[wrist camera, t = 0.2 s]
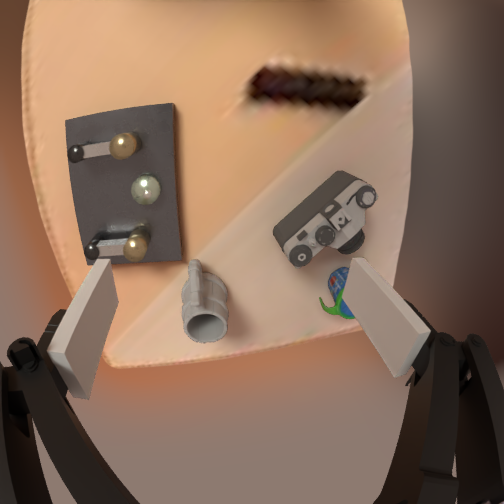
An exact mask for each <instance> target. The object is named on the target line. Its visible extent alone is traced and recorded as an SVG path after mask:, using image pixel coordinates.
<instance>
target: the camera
mask: <svg viewBox="0 0 504 504" xmlns="http://www.w3.org/2000/svg"><path fill="white" fill-rule="evenodd" d="M377 199H378V195H377V193H376V191H375V189H374V188H373V187H372V186H371V185H370V184H368V183H367V182H365V181H363V180H362V179H359V178H357V177H355V176H353V175H350V174H348V173H346V172H344V171H336V172H335V173H334V174H333V175H332V176H331V177H330V178H329V179H327V180H326V181H325V182H324V183H323V184H322V185H321V186H320V187H318V188H317V189H316V190H315V191H314V192H313V193H312V194H311V195H309V196H308V197H307V198H306V199H305V200H304V201H303V202H302V203H300V204H299V205H298V206H297V207H296V208H295V209H294V210H293V211H291V212H290V213H289V214H288V215H287V216H286V217H285V218H284V219H282V220H281V221H280V222H279V223H278V224H277V225H276V226H275V227H274V230H273V235H274V236H275V238H276V240H277V241H278V243H279V245H280V247H281V248H282V251H283V252H284V253H285V255H286V256H287V258H288V260H289V261H290V262H291V263H292V264H293V265H294V266H295V267H296V268H301V267H302V266H305V265H306V264H308V263H309V262H310V261H311V259H312V258H313V257H314V256H315V255H316V254H317V253H318V252H320V251H321V250H322V249H323V248H324V247H325V246H329V247H332V248H336V249H337V250H338V251H339V252H340V253H342V254H351V253H353V252H355V251H356V250H358V249H359V248H360V247H361V246H362V244H363V242H364V239H365V236H364V233H363V231H362V229H361V228H362V227H363V226H364V225H365V210H366V209H367V208H369V207H371V206H372V205H373V204H374V203H375V201H376V200H377Z"/></svg>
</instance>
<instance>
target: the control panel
mask: <svg viewBox="0 0 504 504" xmlns="http://www.w3.org/2000/svg"><path fill="white" fill-rule="evenodd" d="M65 126H66V142H67V153H68V150H69V148H70V147H71V146H73V145H76V144H80V143H84V142H87V143H89V144H95V143H101V142H107V141H111V140H112V138H113V137H115V136H116V135H118V134H123V133H128V132H133V133H135V134H137V135H138V136H139V138H140V141H141V145H140V148H139V150H138V151H137V152H136V153H135V154H133V155H131V156H129V157H128V158H126V159H122V160H119V159H116V158H114V157H113V156H112V155H111V154H108V155H101V156H95V157H89V158H87V159H85V160H82V161H80V162H78V163H72V162H70V161H69V159H68V164H69V173H70V181H71V188H72V194H73V200H74V206H75V212H76V217H77V222H78V227H79V232H80V236H81V241H82V245H83V249H85V247H86V246H87V244H88V243H89V242H90V241H91V239H92V238H93V237H94V236H96V235H99V236H101V237H103V238H104V240H113V239H127V238H129V236H130V234H131V233H132V232H133V231H134V230H137V229H141V230H144V231H145V232H147V233H148V235H149V237H150V243H149V246H148V248H147V251H146V254H145V256H144V258H143V259H142V260H141V261H139V262H131V261H129V260H128V259H126V257H125V256H124V255H115V256H99V257H98V258H97V259H110V261H111V264H124V263H143V262H161V261H179V260H182V255H183V253H182V244H181V233H180V222H179V209H178V195H177V179H176V159H175V127H174V103H166V104H156V105H147V106H139V107H132V108H125V109H119V110H113V111H107V112H102V113H96V114H92V115H87V116H82V117H78V118H73V119H69V120H65ZM85 257H86V256H85ZM97 259H96V260H97ZM96 260H89V259H88V258H87V257H86V261H87V265H94V263H95V262H96Z"/></svg>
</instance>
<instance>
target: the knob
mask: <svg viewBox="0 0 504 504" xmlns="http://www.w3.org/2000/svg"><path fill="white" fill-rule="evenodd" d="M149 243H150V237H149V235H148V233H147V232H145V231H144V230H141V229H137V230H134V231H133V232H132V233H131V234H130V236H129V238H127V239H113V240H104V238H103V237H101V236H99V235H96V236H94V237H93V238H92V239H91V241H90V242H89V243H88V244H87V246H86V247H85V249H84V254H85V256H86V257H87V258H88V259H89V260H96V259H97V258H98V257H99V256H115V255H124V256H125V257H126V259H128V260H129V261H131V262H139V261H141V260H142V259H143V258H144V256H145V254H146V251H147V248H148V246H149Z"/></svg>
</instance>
